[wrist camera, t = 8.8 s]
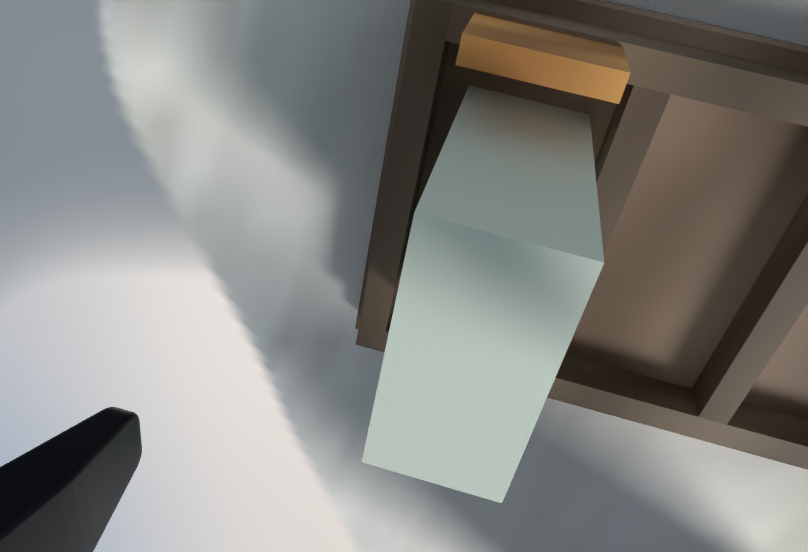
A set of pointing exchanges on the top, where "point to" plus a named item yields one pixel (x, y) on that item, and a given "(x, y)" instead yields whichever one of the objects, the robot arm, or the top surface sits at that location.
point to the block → (488, 293)
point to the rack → (640, 203)
